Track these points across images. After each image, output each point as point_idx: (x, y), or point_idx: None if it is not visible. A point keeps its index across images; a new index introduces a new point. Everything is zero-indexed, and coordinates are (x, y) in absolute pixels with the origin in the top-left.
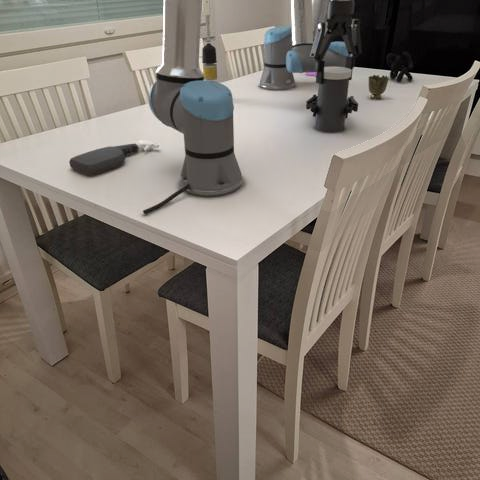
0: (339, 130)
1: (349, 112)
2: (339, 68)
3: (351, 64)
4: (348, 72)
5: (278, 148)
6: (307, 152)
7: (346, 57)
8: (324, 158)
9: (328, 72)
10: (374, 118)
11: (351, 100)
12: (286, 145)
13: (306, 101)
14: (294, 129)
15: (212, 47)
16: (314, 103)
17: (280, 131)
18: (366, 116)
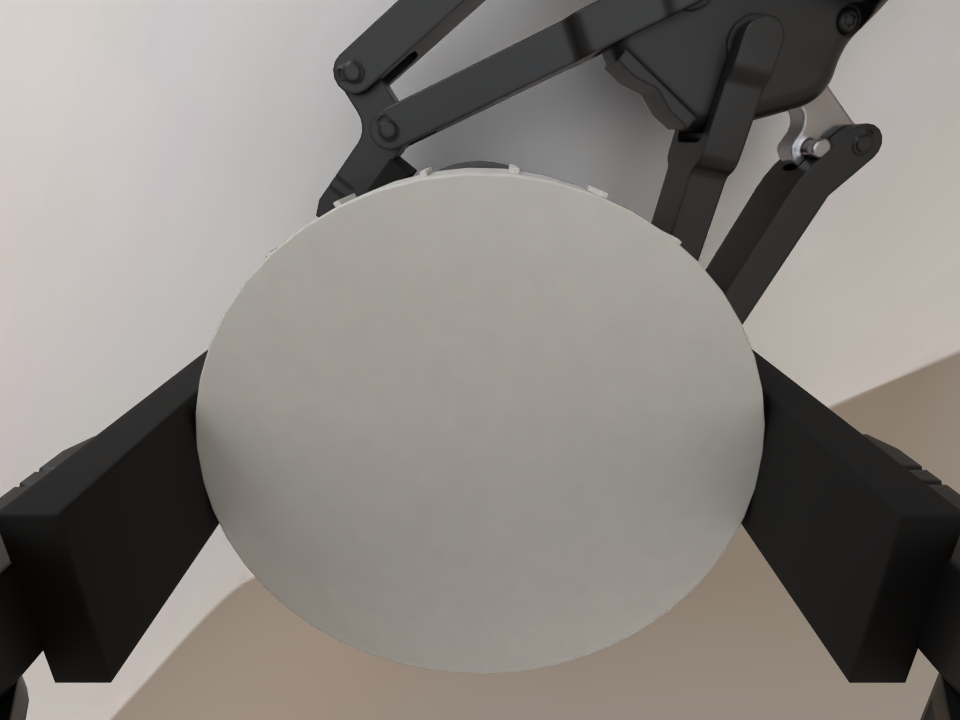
0: None
1: None
2: (622, 422)
3: (783, 582)
4: (548, 663)
5: (25, 412)
6: None
7: (884, 510)
8: (204, 602)
9: (279, 562)
10: (900, 237)
11: (747, 256)
12: (84, 395)
13: (335, 62)
14: (243, 161)
15: None
16: (390, 148)
17: (129, 150)
18: (900, 166)
